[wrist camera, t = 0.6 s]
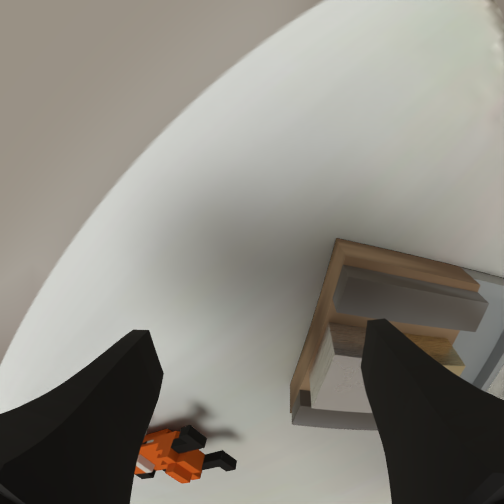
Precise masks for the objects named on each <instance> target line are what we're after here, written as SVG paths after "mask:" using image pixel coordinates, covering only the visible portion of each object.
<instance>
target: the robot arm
mask: <svg viewBox="0 0 504 504" xmlns="http://www.w3.org/2000/svg"><path fill="white" fill-rule="evenodd" d="M361 372H362V377H363V382H364V387H365V391H366V395H367V398H368V401H369V404H370V407H371V410H372V413H373V416H374V419H375V422H376V425H377V428H378V431H379V434H380V438H381V441H382V444H383V448H384V452H385V456H386V462H387V468H388V474H389V482H390V490H391V499H392V504H504V400H502V399H500V398H497V397H495V396H493V395H491V394H489V393H487V392H485V391H483V390H481V389H479V388H477V387H476V386H474V385H472V384H470V383H469V382H467V381H465V380H464V379H462V378H460V377H459V376H457V375H456V374H454V373H453V372H451V371H450V370H448V369H447V368H446V367H444V366H443V365H442V364H440V363H439V362H437V361H436V360H435V359H433V358H432V357H431V356H430V355H428V354H427V353H426V352H424V351H423V350H422V349H421V348H420V347H418V346H417V345H416V344H415V343H414V342H412V341H411V340H410V339H409V338H408V337H406V336H405V335H404V334H403V333H402V332H401V331H399V330H398V329H397V328H396V327H395V326H394V325H392V324H391V323H390V322H389V321H388V320H386V319H385V318H384V319H375V320H367V327H366V335H365V342H364V348H363V354H362V361H361ZM163 374H164V373H163V370H162V368H161V365H160V362H159V359H158V356H157V353H156V350H155V347H154V344H153V341H152V338H151V335H150V332H149V330H132V331H131V332H129V333H128V334H127V335H125V336H124V337H123V338H121V339H120V340H119V341H118V342H116V343H115V344H114V345H113V346H111V347H110V348H109V349H108V350H106V351H105V352H104V353H103V354H101V355H100V356H99V357H98V358H96V359H95V360H94V361H93V362H91V363H90V364H89V365H87V366H86V367H85V368H83V369H82V370H81V371H79V372H78V373H77V374H75V375H74V376H73V377H71V378H70V379H68V380H67V381H65V382H64V383H62V384H61V385H59V386H58V387H56V388H54V389H53V390H51V391H49V392H48V393H46V394H44V395H42V396H41V397H38V398H36V399H34V400H32V401H30V402H28V403H26V404H24V405H22V406H20V407H18V408H15V409H13V410H10V411H7V412H5V413H2V414H0V504H130V497H131V490H132V484H133V478H134V473H135V468H136V463H137V459H138V455H139V452H140V448H141V445H142V443H143V440H144V437H145V434H146V431H147V429H148V426H149V423H150V420H151V418H152V415H153V412H154V409H155V407H156V404H157V401H158V398H159V394H160V389H161V384H162V379H163Z"/></svg>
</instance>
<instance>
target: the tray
mask: <svg viewBox="0 0 504 504" xmlns="http://www.w3.org/2000/svg"><path fill="white" fill-rule="evenodd" d="M460 268H462V267H460ZM462 269H463V270H464V271H465V272H466V273H467V274H469V275H470V276H471V277H472V278H473V279H474V280H476V281H477V282H478V283H479V284H480V288H479V290H478V293H479V294H480V295H481V296H482V297H483V298H484V299H485V300H486V301H487V302H488V303H489V305H488V307H487V310H486V312H485V314H484V316H483V318H482V320H481V322H480V324H479V326H478V328H477V330H476V332H469V331H461V330H460V332H459V334H458V336H457V338H456V339H455V341H454V343H453V345H452V346H453V348H454V349H455V351H456V352H457V354H458V355H459V357H460V358H461V360H462V361H463V363H464V364H465V366H466V367H465V368H464V370H463V372H462V373H461V375H460V376H459V377H460V378H462V379H464V380H465V381H467V382H469V383H470V384H472V385H474V386H476V387H477V388H479V389H481V390H483V391H485V392H486V391H487V389H488V388H489V386H490V385H491V383H492V382H493V380H494V379H495V377H496V376H497V374H498V373H499V371H500V369H501V368H502V366H503V365H504V278H501V277H497V276H493V275H490V274H486V273H482V272H478V271H474V270H470V269H466V268H462Z"/></svg>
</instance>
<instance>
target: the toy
mask: <svg viewBox="0 0 504 504" xmlns="http://www.w3.org/2000/svg"><path fill="white" fill-rule="evenodd" d="M146 433H147V431H146ZM206 440H207V438H206V437H204V436H203V435H202V434H201V433H199V432H198V431H197V430H196V429H194V428H193V427H192V426H191V425H189V426H186V427H183V428H181V431H178V432H177V431H174V432H172V431H171V430H169V429H164V430H161V431H157V432H154V433H150V434H147V435H146V434H145V437H144V440H143V443H142V445H141V448H140V452H139V455H138V459H137V463H136V468H135V473H134V474H135V475H137V476H138V477H140V478H141V479H146V478H153V477H154V475H155V472H156V471H157V470H163V471H165V473H166V474H168V475H169V476H171V477H172V478H174V479H175V480H177V481H179V482H180V483H190V480H195V479H200V477H201V473H202V470H205V469H210V468H215V467H221V468H222V469H223V470H225V471H231V470H235V469H236V463H237V460H235V459H234V458H232V457H231V456H230V455H228V454H227V453H225V452H224V451H223V450H221V451H218V452H214V453H210V454H206V455H205V454H203V453H202V452H201V451H199V449H201V448H204V447H205V444H206Z"/></svg>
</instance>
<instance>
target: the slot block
mask: <svg viewBox="0 0 504 504" xmlns="http://www.w3.org/2000/svg"><path fill="white" fill-rule="evenodd" d="M479 288H480V284H479V283H478V282H477V281H476V280H474V279H473V278H472V277H471V276H470V275H469V274H467V273H466V272H465V271H464V270H463V269H462V268H460V267H458V266H454V265H450V264H446V263H442V262H438V261H434V260H430V259H426V258H422V257H418V256H413V255H409V254H405V253H401V252H396V251H392V250H388V249H383V248H379V247H374V246H370V245H366V244H361V243H357V242H352V241H347V240H343V239H338V238H336V241H335V244H334V248H333V252H332V255H331V259H330V263H329V266H328V270H327V273H326V277H325V280H324V283H323V287H322V290H321V294H320V297H319V300H318V303H317V307H316V310H315V313H314V316H313V319H312V323H311V326H310V329H309V332H308V335H307V338H306V341H305V344H304V347H303V350H302V353H301V356H300V359H299V361H298V364H297V367H296V370H295V373H294V376H293V378H292V381H291V384H290V413H292V424H293V425H301V426H311V427H322V428H335V429H352V430H378V428H377V425H376V422H375V419H374V416H373V413H362V412H346V411H334V410H323V409H314V408H311V393H310V380H309V373H310V370H311V367H312V365H313V362H314V360H315V357H316V354H317V352H318V349H319V346H320V343H321V341H322V338H323V335H324V332H325V329H326V327H327V324H328V322H332V323H338V324H344V325H350V326H357V327H364V328H366V327H367V320H375V319H384V318H385V319H386V320H388V321H389V322H390V323H391V324H392V325H394V326H395V327H396V328H397V329H398V330H399V331H401V332H402V333H407V334H415V335H423V336H432V337H441V338H447V339H448V340H449V342H450V343H451V345H453V343H454V341H455V339H456V338H457V336H458V334H459V332H460V330H461V331H469V332H476V330H477V328H478V326H479V324H480V322H481V320H482V318H483V316H484V314H485V312H486V310H487V307H488V305H489V303H488V302H487V301H486V300H485V299H484V298H483V297H482V296H481V295H480V294H479V293H478V290H479Z"/></svg>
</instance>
